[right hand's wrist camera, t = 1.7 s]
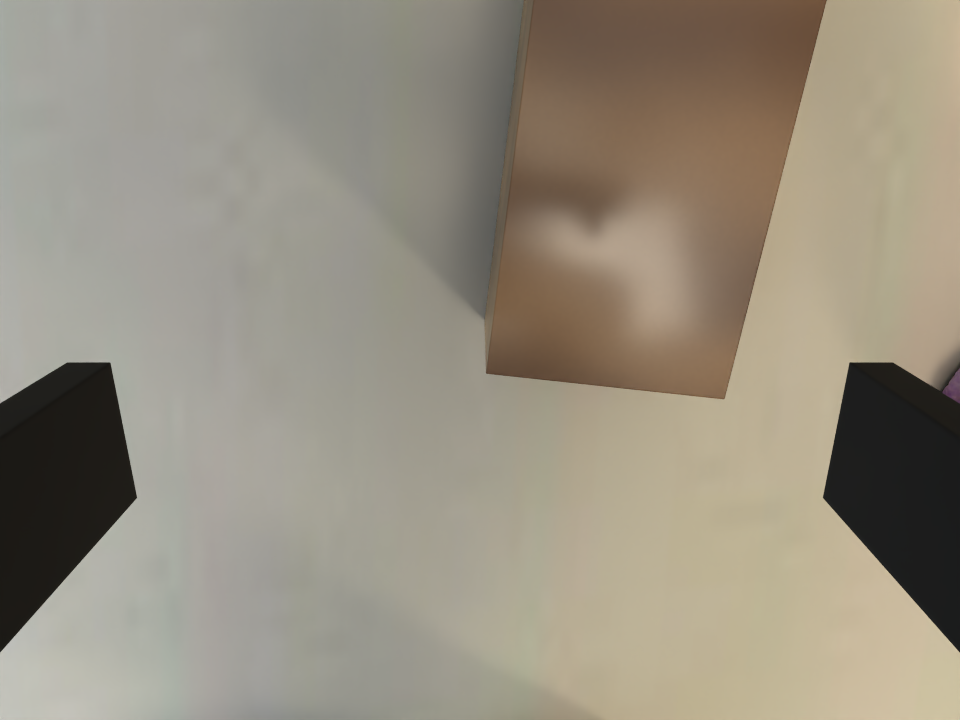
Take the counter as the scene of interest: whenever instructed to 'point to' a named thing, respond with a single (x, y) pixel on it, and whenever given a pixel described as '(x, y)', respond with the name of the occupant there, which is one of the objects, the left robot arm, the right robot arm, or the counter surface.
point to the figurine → (953, 387)
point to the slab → (641, 186)
